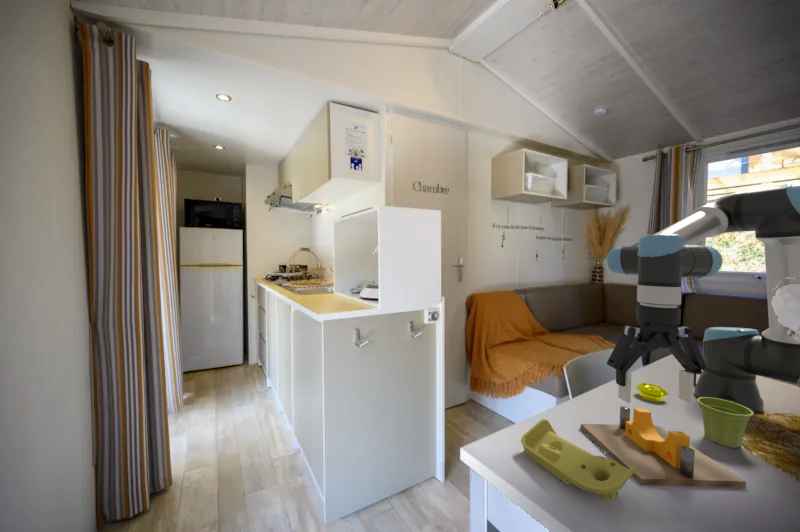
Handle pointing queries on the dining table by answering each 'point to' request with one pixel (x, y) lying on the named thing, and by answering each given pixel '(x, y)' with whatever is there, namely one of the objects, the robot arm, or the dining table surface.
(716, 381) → the robot arm
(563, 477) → the plastic component
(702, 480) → the base plate
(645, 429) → the pipe clamp
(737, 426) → the plant pot
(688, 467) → the locating stubs
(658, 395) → the gear
